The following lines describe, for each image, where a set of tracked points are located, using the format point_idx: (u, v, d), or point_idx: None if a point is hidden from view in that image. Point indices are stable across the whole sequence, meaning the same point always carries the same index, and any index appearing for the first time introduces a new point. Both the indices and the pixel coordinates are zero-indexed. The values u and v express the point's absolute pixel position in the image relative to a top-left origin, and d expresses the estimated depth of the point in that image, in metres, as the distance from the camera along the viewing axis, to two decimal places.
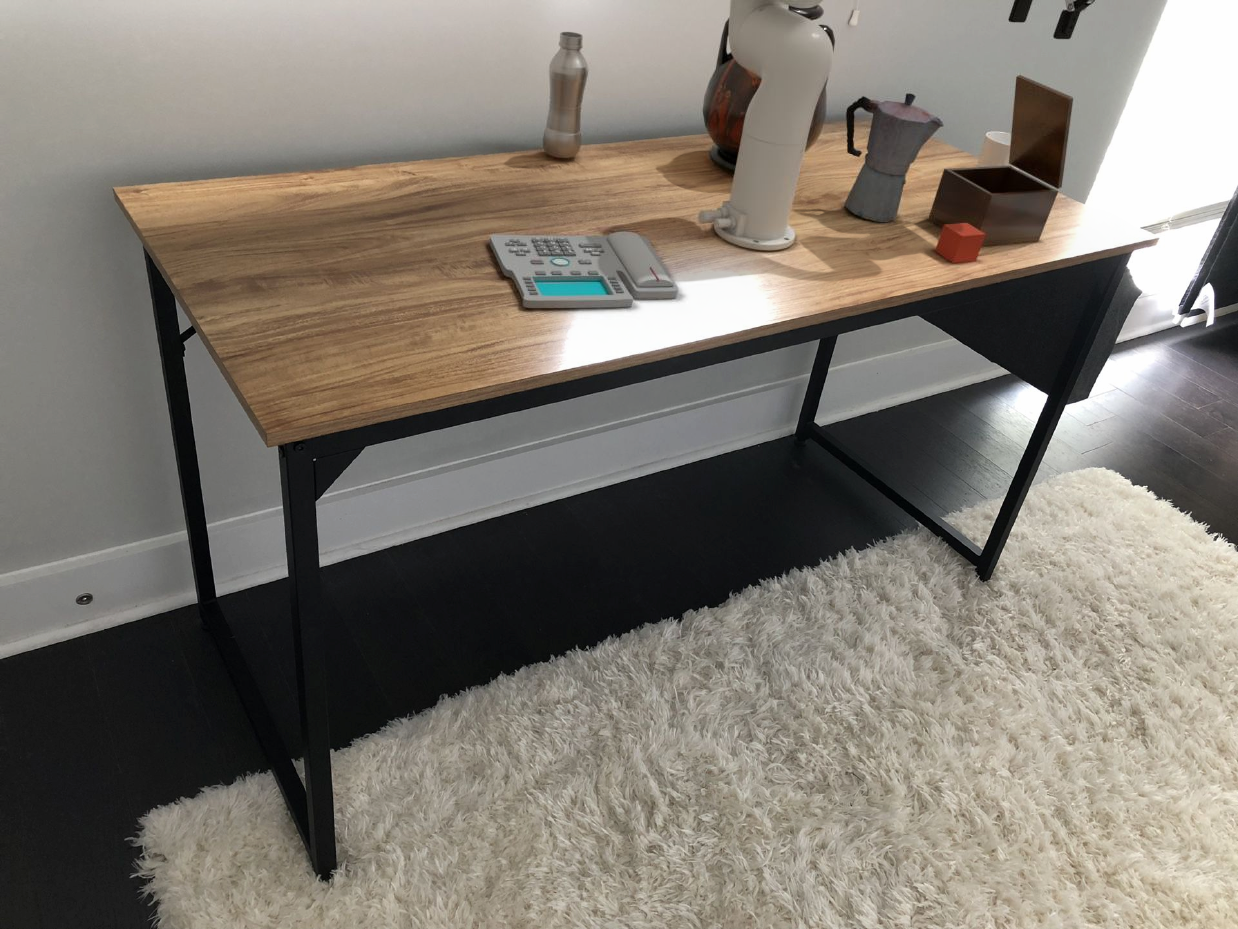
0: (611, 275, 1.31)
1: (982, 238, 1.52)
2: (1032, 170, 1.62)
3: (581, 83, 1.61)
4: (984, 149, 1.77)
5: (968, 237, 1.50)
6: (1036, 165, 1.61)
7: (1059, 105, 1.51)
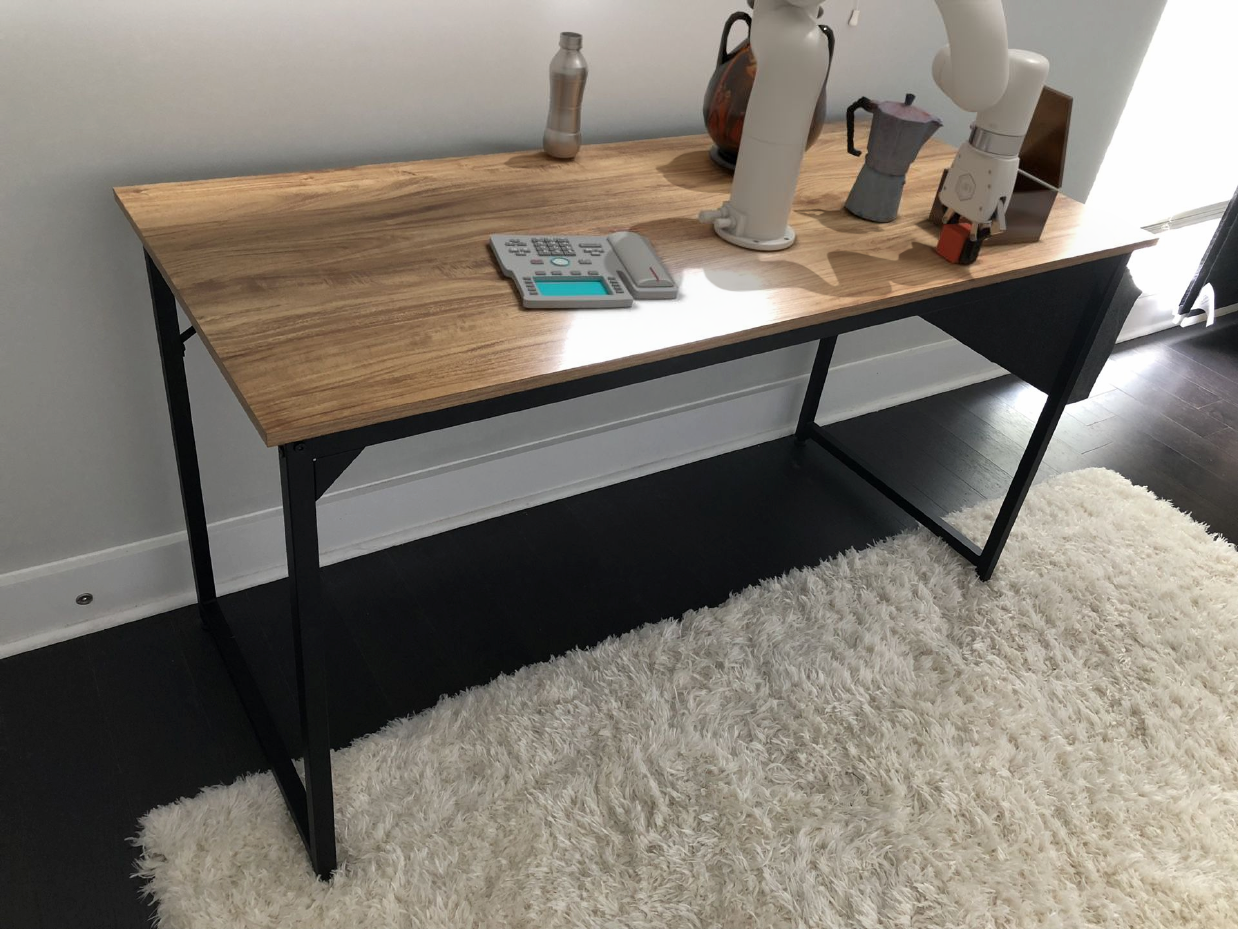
0: (611, 275, 1.31)
1: None
2: (1032, 170, 1.62)
3: (581, 83, 1.61)
4: None
5: (968, 237, 1.50)
6: (1036, 165, 1.61)
7: (1059, 105, 1.51)
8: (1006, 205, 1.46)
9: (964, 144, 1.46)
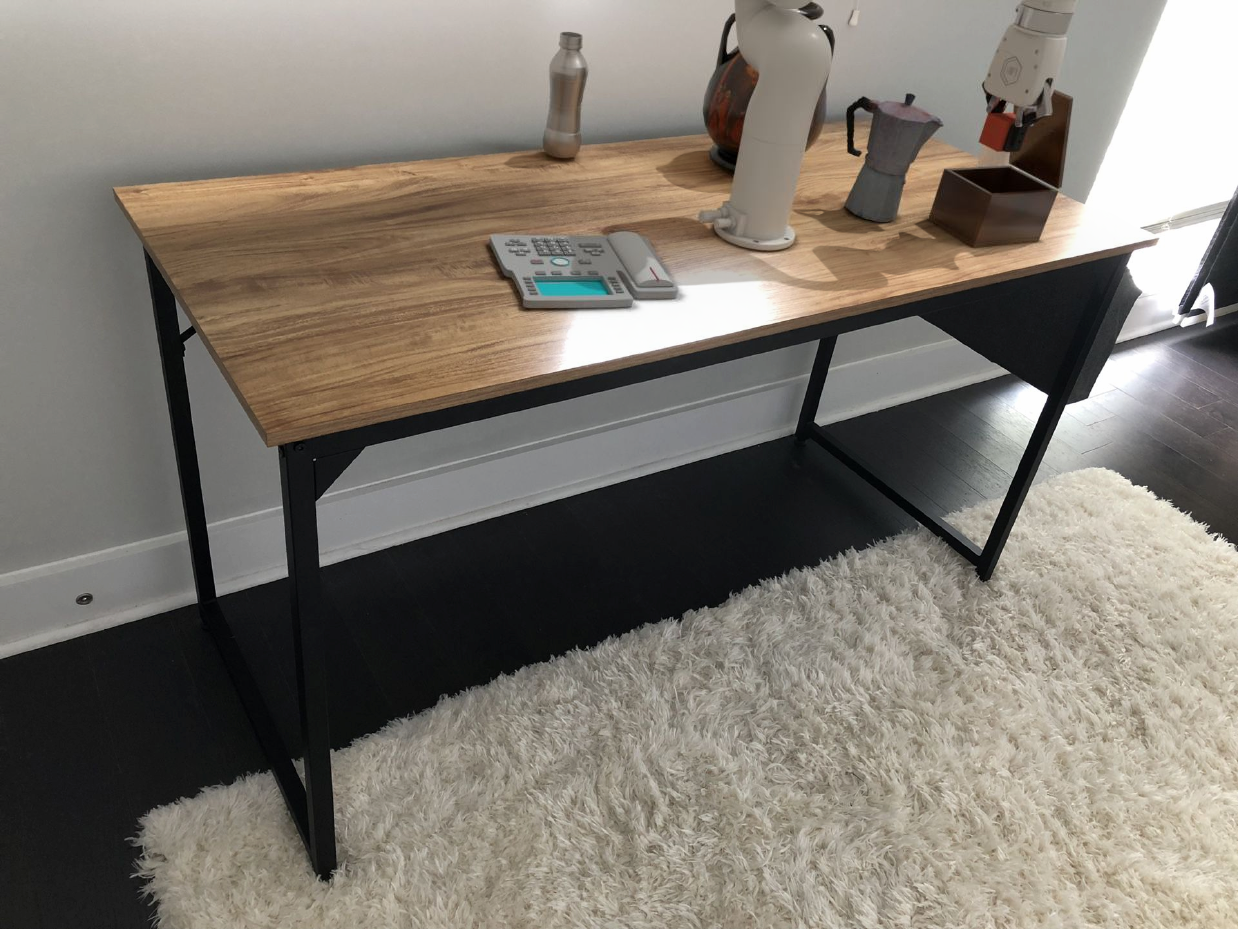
0: (611, 275, 1.31)
1: None
2: (1032, 170, 1.62)
3: (581, 83, 1.61)
4: (984, 149, 1.77)
5: (1013, 124, 1.48)
6: (1036, 165, 1.61)
7: (1059, 105, 1.51)
8: (1052, 88, 1.44)
9: (1010, 27, 1.44)
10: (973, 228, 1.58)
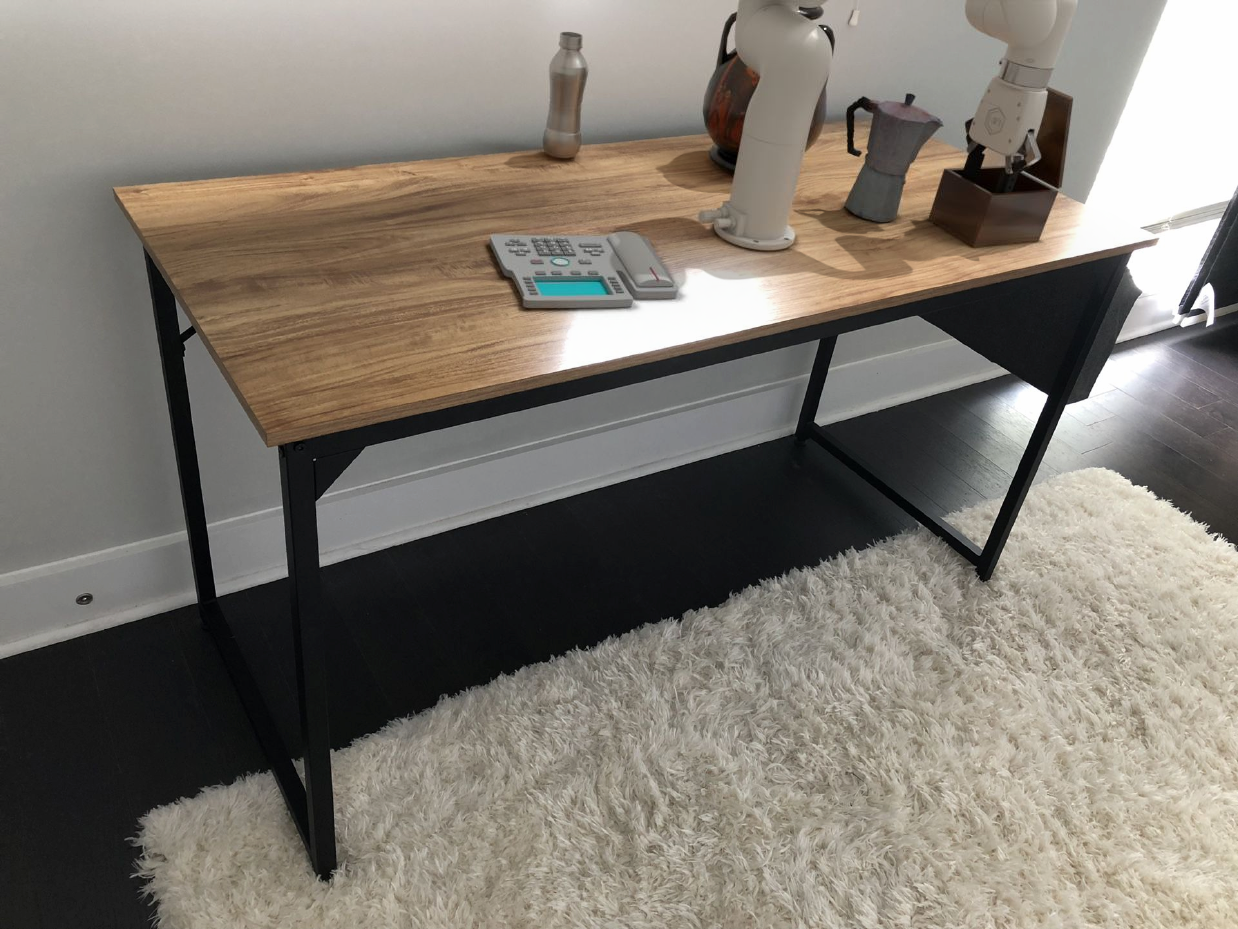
0: (611, 275, 1.31)
1: None
2: (1032, 170, 1.62)
3: (581, 83, 1.61)
4: None
5: None
6: (1036, 165, 1.61)
7: (1059, 105, 1.51)
8: None
9: (994, 79, 1.52)
10: (973, 228, 1.58)
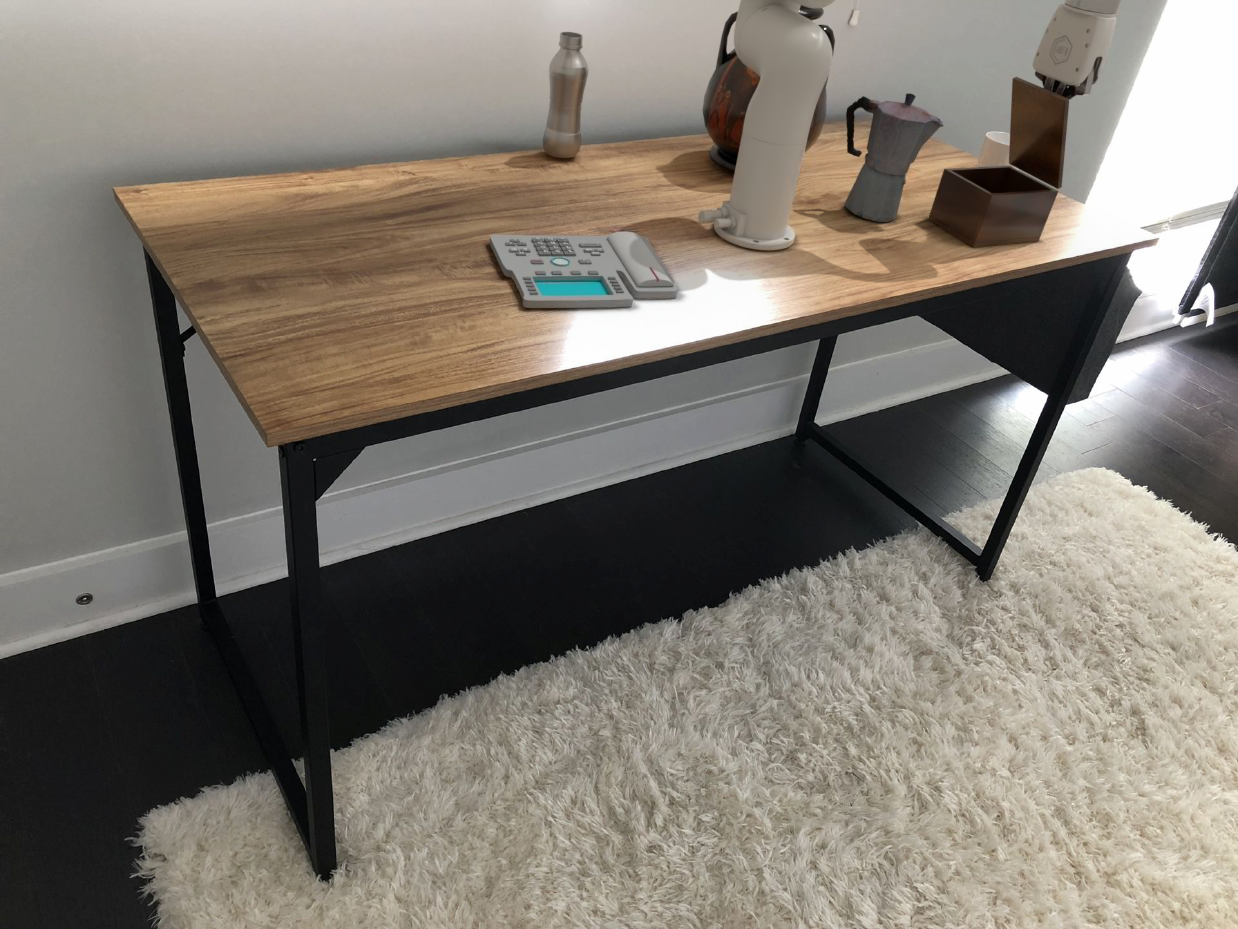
0: (611, 275, 1.31)
1: None
2: (1032, 171, 1.62)
3: (581, 83, 1.61)
4: (984, 149, 1.77)
5: None
6: (1035, 165, 1.61)
7: (1055, 107, 1.51)
8: (1101, 66, 1.48)
9: (1060, 7, 1.49)
10: (973, 228, 1.58)
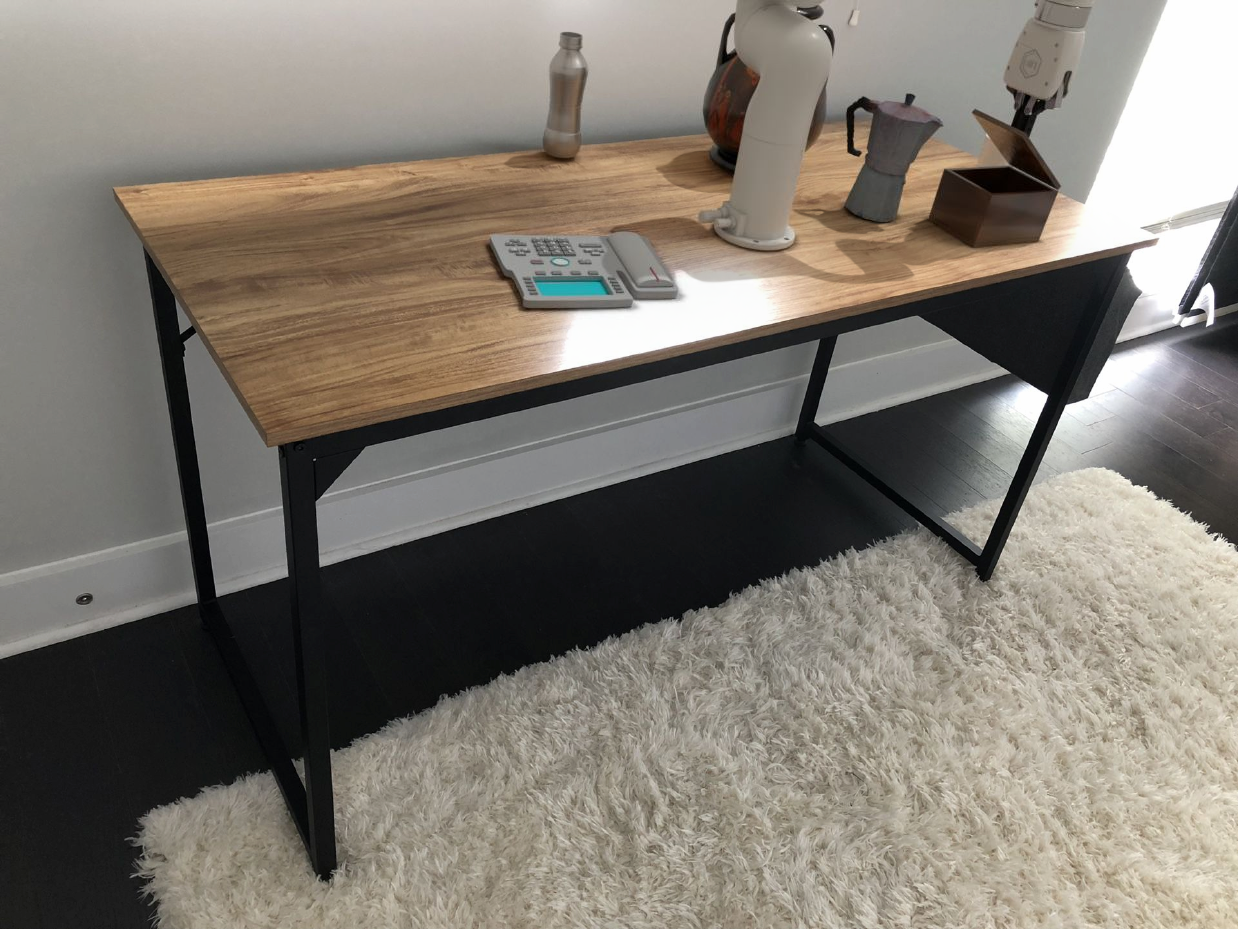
0: (611, 275, 1.31)
1: None
2: (1030, 173, 1.63)
3: (581, 83, 1.61)
4: (984, 149, 1.77)
5: None
6: (1030, 171, 1.61)
7: (1017, 139, 1.51)
8: (1071, 80, 1.47)
9: (1029, 21, 1.48)
10: (973, 228, 1.58)
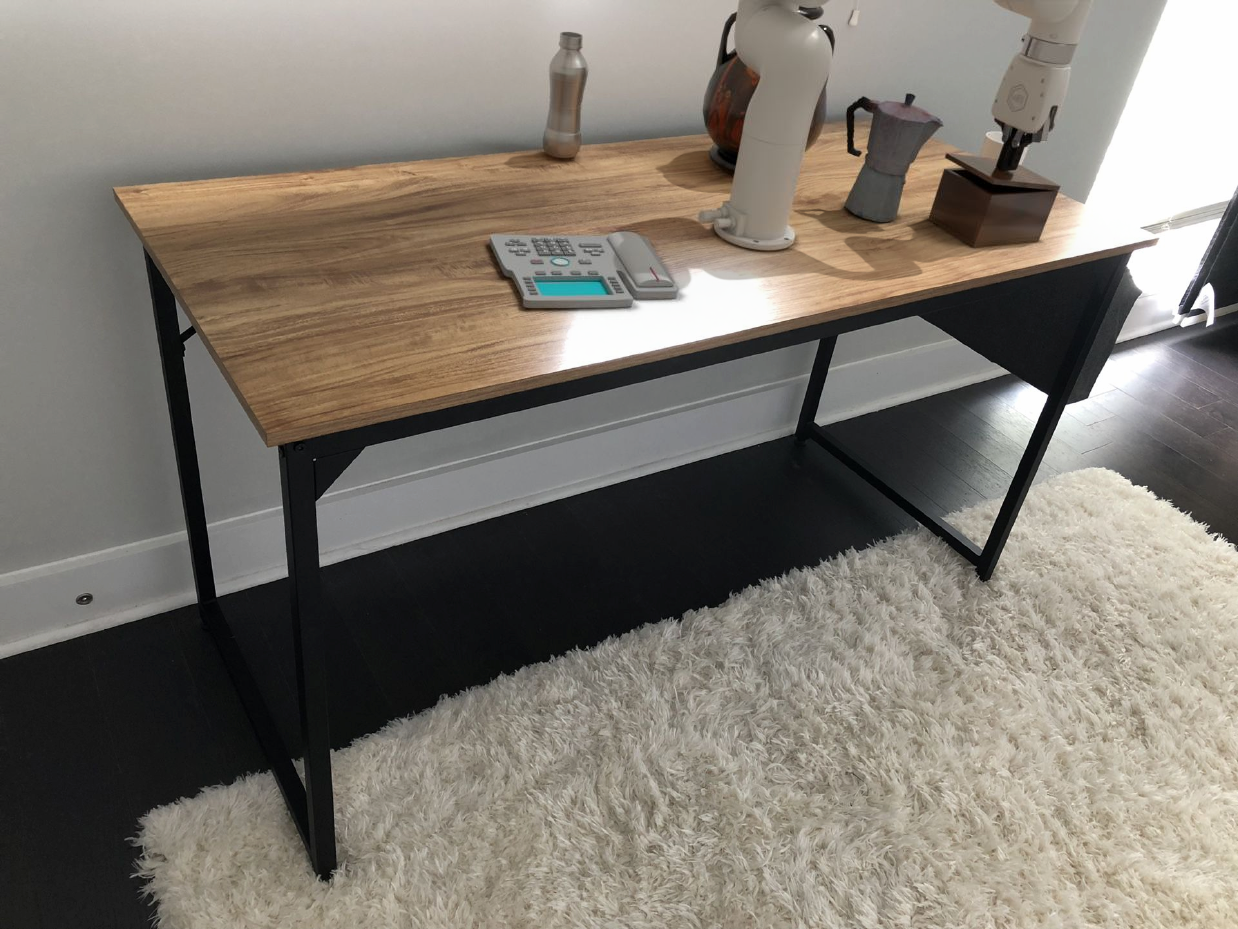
0: (611, 275, 1.31)
1: None
2: None
3: (581, 83, 1.61)
4: (984, 149, 1.77)
5: None
6: None
7: None
8: (1057, 115, 1.50)
9: (1016, 56, 1.51)
10: (973, 228, 1.58)
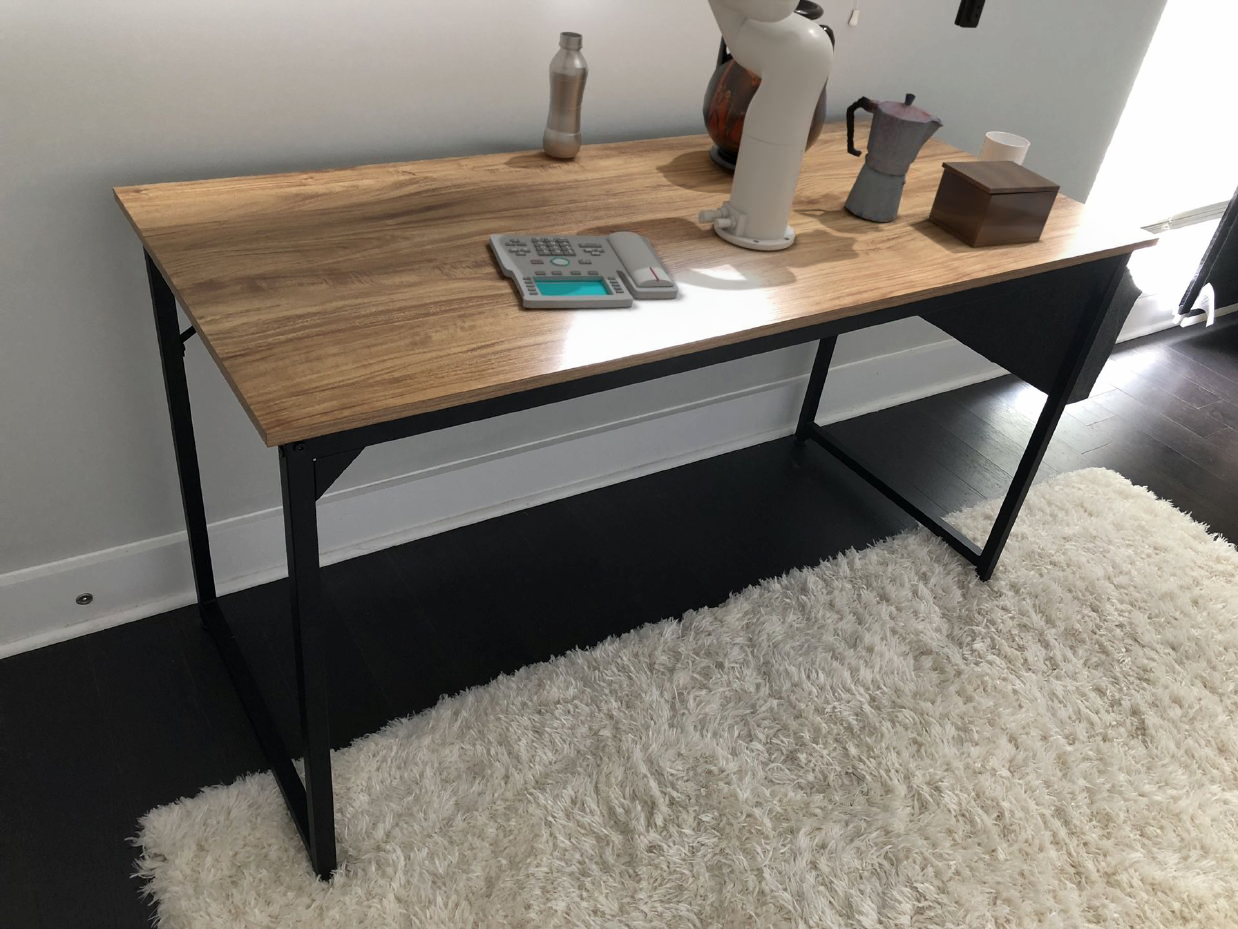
0: (611, 275, 1.31)
1: None
2: None
3: (581, 83, 1.61)
4: (984, 149, 1.77)
5: None
6: None
7: None
8: None
9: None
10: (973, 228, 1.58)
